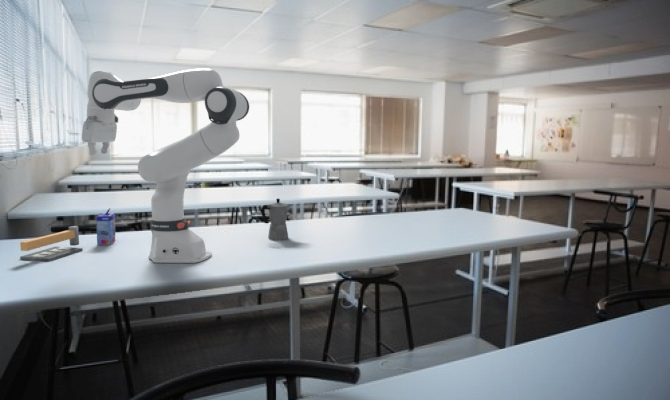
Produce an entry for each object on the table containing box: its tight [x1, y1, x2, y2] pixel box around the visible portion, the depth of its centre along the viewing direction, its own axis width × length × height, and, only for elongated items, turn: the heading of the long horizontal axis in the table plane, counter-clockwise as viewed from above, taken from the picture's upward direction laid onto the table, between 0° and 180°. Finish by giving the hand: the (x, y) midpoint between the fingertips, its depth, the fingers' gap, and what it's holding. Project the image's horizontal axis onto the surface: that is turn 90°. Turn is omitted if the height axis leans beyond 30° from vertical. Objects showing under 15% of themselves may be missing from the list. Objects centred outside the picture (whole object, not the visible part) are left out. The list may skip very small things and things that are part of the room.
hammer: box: [19, 225, 80, 252], centre depth 166 cm, size 3×25×7 cm, turn 169°
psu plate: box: [19, 246, 84, 262], centre depth 166 cm, size 12×16×1 cm
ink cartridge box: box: [95, 208, 116, 246], centre depth 186 cm, size 10×6×14 cm, turn 15°
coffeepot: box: [260, 198, 292, 241], centre depth 198 cm, size 15×9×18 cm, turn 129°
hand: (98, 154), depth 165 cm, fingers open, 8 cm apart
